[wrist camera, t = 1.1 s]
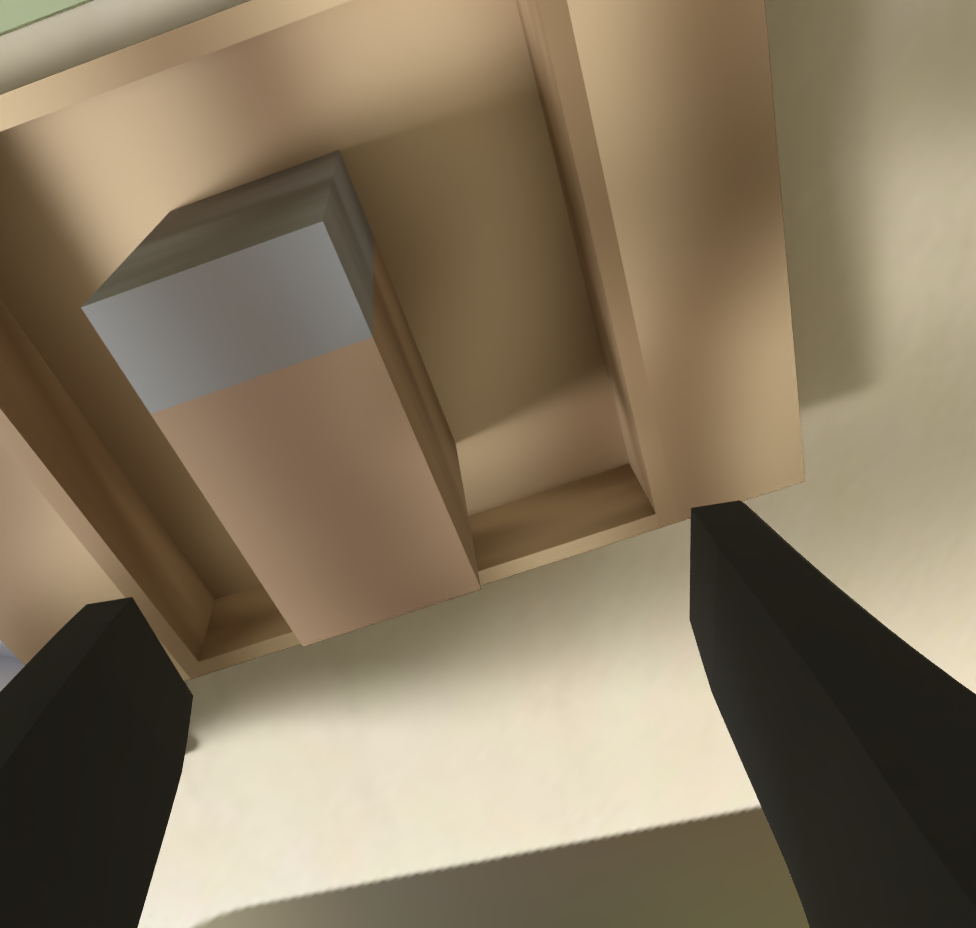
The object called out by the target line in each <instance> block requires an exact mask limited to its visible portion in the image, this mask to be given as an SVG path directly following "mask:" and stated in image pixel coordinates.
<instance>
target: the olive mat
mask: <svg viewBox="0 0 976 928" xmlns="http://www.w3.org/2000/svg"><path fill="white" fill-rule="evenodd" d="M90 1H93V0H0V36H1V35H4V34H7V33H9V32H12V31H14V30H17V29H20V28H22V27H25V26H28V25H30V24H33V23H35V22H38V21H41V20H43V19H46V18H48V17H51V16H54V15H56V14H59V13H62V12H64V11H67V10H69V9H72V8H75V7H77V6H80V5H82V4H85V3H88V2H90Z"/></svg>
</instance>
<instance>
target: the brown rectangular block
mask: <svg viewBox="0 0 976 928" xmlns="http://www.w3.org/2000/svg"><path fill="white" fill-rule="evenodd" d="M81 309H82V310H83V312H84V313H85V315H86V316H87V318H88V319H89V321H90V322H91V324H92V325H93V327H94V328H95V330H96V331H97V333H98V335H99V336H100V338H101V339H102V341H103V342H104V344H105V345H106V347H107V348H108V350H109V351H110V353H111V354H112V356H113V357H114V359H115V361H116V362H117V364H118V365H119V367H120V368H121V370H122V371H123V373H124V374H125V376H126V377H127V379H128V380H129V382H130V383H131V385H132V387H133V388H134V390H135V391H136V393H137V394H138V396H139V397H140V399H141V400H142V402H143V403H144V405H145V406H146V408H147V409H148V411H149V413H150V414H151V416H152V417H153V419H154V420H155V422H156V423H157V425H158V426H159V428H160V429H161V431H162V432H163V434H164V435H165V437H166V438H167V440H168V442H169V443H170V445H171V446H172V448H173V449H174V451H175V452H176V454H177V455H178V457H179V458H180V460H181V461H182V463H183V464H184V466H185V468H186V469H187V471H188V472H189V474H190V475H191V477H192V478H193V480H194V481H195V483H196V484H197V486H198V487H199V489H200V490H201V492H202V494H203V495H204V497H205V498H206V500H207V501H208V503H209V504H210V506H211V507H212V509H213V510H214V512H215V513H216V515H217V516H218V518H219V520H220V521H221V523H222V524H223V526H224V527H225V529H226V530H227V532H228V533H229V535H230V536H231V538H232V539H233V541H234V542H235V544H236V546H237V547H238V549H239V550H240V552H241V553H242V555H243V556H244V558H245V559H246V561H247V562H248V564H249V565H250V567H251V568H252V570H253V572H254V573H255V575H256V576H257V578H258V579H259V581H260V582H261V584H262V585H263V587H264V588H265V590H266V591H267V593H268V594H269V596H270V598H271V599H272V601H273V602H274V604H275V605H276V607H277V608H278V610H279V611H280V613H281V614H282V616H283V617H284V619H285V620H286V622H287V623H288V625H289V627H290V628H291V630H292V631H293V633H294V634H295V636H296V637H297V639H298V640H299V642H300V643H301V645H302V646H303V647H304V646H307V645H310V644H313V643H316V642H319V641H322V640H325V639H328V638H331V637H335V636H338V635H341V634H344V633H347V632H350V631H353V630H356V629H359V628H362V627H366V626H369V625H372V624H375V623H378V622H381V621H384V620H387V619H390V618H393V617H397V616H400V615H403V614H406V613H409V612H412V611H415V610H418V609H421V608H425V607H428V606H431V605H434V604H437V603H440V602H443V601H446V600H449V599H452V598H456V597H459V596H462V595H465V594H468V593H471V592H474V591H477V590H480V589H481V585H480V580H479V574H478V568H477V563H476V557H475V551H474V546H473V540H472V534H471V528H470V523H469V517H468V511H467V506H466V500H465V494H464V488H463V483H462V477H461V471H460V466H459V460H458V454H457V449H456V443H455V441H454V438H453V436H452V433H451V431H450V428H449V426H448V423H447V421H446V418H445V416H444V413H443V410H442V408H441V405H440V403H439V400H438V398H437V395H436V393H435V390H434V388H433V385H432V383H431V380H430V378H429V375H428V373H427V370H426V368H425V365H424V363H423V360H422V358H421V355H420V352H419V350H418V347H417V345H416V342H415V340H414V337H413V335H412V332H411V330H410V327H409V325H408V322H407V320H406V317H405V315H404V312H403V310H402V307H401V305H400V302H399V300H398V297H397V295H396V292H395V289H394V287H393V284H392V282H391V279H390V277H389V274H388V272H387V269H386V267H385V264H384V262H383V259H382V257H381V254H380V252H379V249H378V247H377V244H376V242H375V239H374V237H373V234H372V231H371V229H370V226H369V224H368V221H367V219H366V216H365V214H364V211H363V209H362V206H361V204H360V201H359V199H358V196H357V194H356V191H355V189H354V186H353V184H352V181H351V179H350V176H349V173H348V171H347V168H346V166H345V163H344V161H343V158H342V156H341V153H340V151H339V150H338V151H335V152H332V153H329V154H327V155H324V156H321V157H318V158H316V159H313V160H310V161H307V162H304V163H302V164H299V165H296V166H293V167H291V168H288V169H285V170H282V171H280V172H277V173H274V174H271V175H269V176H266V177H263V178H260V179H258V180H255V181H252V182H249V183H246V184H244V185H241V186H238V187H235V188H233V189H230V190H227V191H224V192H222V193H219V194H216V195H213V196H211V197H208V198H205V199H202V200H200V201H197V202H194V203H191V204H189V205H186V206H183V207H180V208H177V209H175V210H172V211H170V212H169V213H168V214H167V215H166V216H165V217H164V218H163V219H162V220H161V222H160V223H159V224H158V225H157V226H156V227H155V228H154V229H153V230H152V231H151V232H150V233H149V235H148V236H147V237H146V238H145V239H144V240H143V241H142V242H141V243H140V244H139V245H138V246H137V247H136V249H135V250H134V251H133V252H132V253H131V254H130V255H129V256H128V257H127V258H126V259H125V260H124V261H123V263H122V264H121V265H120V266H119V267H118V268H117V269H116V270H115V271H114V272H113V273H112V274H111V275H110V277H109V278H108V279H107V280H106V281H105V282H104V283H103V284H102V285H101V286H100V287H99V288H98V290H97V291H96V292H95V293H94V294H93V295H92V296H91V297H90V298H89V299H88V300H87V301H86V302H85V304H84V305H83V306H82V307H81Z"/></svg>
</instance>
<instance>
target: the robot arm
mask: <svg viewBox="0 0 976 928" xmlns="http://www.w3.org/2000/svg"><path fill="white" fill-rule="evenodd" d="M690 622H691V625H692V629H693V632H694V636H695V639H696V642H697V646H698V649H699V652H700V656H701V659H702V662H703V666H704V669H705V672H706V675H707V678H708V681H709V685H710V688H711V691H712V694H713V696H714V698H715V701H716V703H717V705H718V708H719V710H720V712H721V715H722V717H723V719H724V722H725V724H726V726H727V729H728V731H729V733H730V736H731V738H732V740H733V743H734V745H735V747H736V750H737V752H738V754H739V756H740V759H741V761H742V763H743V766H744V768H745V770H746V772H747V775H748V777H749V779H750V782H751V784H752V786H753V788H754V791H755V793H756V795H757V798H758V800H759V802H760V804H761V807H762V809H763V811H764V813H765V816H766V818H767V820H768V822H769V825H770V827H771V829H772V832H773V834H774V836H775V839H776V841H777V843H778V845H779V848H780V850H781V852H782V855H783V857H784V859H785V861H786V864H787V867H788V869H789V872H790V874H791V877H792V879H793V882H794V884H795V887H796V890H797V892H798V895H799V897H800V900H801V903H802V905H803V908H804V911H805V914H806V917H807V920H808V923H809V926H810V928H976V694H975V693H973V692H972V691H970V690H969V689H968V688H966V687H965V686H963V685H962V684H961V683H959V682H958V681H956V680H955V679H954V678H952V677H951V676H950V675H948V674H947V673H946V672H944V671H943V670H942V669H940V668H939V667H938V666H936V665H935V664H934V663H932V662H931V661H930V660H928V659H927V658H926V657H924V656H923V655H922V654H920V653H919V652H918V651H916V650H915V649H914V648H912V647H911V646H910V645H909V644H907V643H906V642H905V641H904V640H902V639H901V638H900V637H898V636H897V635H896V634H895V633H893V632H892V631H891V630H889V629H888V628H887V627H886V626H884V625H883V624H882V623H881V622H880V621H878V620H877V619H876V618H875V617H874V616H872V615H871V614H870V613H869V612H867V611H866V610H865V609H864V608H863V607H861V606H860V605H859V604H858V603H857V602H855V601H854V600H853V599H852V598H850V597H849V596H848V595H847V594H846V593H844V592H843V591H842V590H841V589H840V588H838V587H837V586H836V585H835V584H834V583H833V582H831V581H830V580H829V579H828V578H827V577H826V576H824V575H823V574H822V573H821V572H820V571H819V570H818V569H816V568H815V567H814V566H813V565H812V564H811V563H810V562H809V561H807V560H806V559H805V558H804V557H803V556H802V555H801V554H800V553H798V552H797V551H796V550H795V549H794V548H793V547H792V546H791V545H790V544H788V543H787V542H786V541H785V540H784V539H783V538H782V537H781V536H780V535H779V534H777V533H776V532H775V531H774V530H773V529H772V528H771V527H770V526H769V525H768V524H767V523H765V522H764V521H763V520H762V519H761V518H760V517H759V516H758V515H757V514H756V513H755V512H754V511H752V510H751V509H750V508H749V507H748V506H747V505H745V504H744V503H743V502H741V501H740V500H737V501H731V502H725V503H719V504H712V505H706V506H700V507H693V508H691V547H690ZM192 700H193V695H192V693H191V692H190V690H189V689H188V687H187V685H186V684H185V682H184V680H183V679H182V677H181V676H180V674H179V672H178V671H177V669H176V667H175V666H174V664H173V662H172V661H171V659H170V658H169V656H168V654H167V653H166V651H165V649H164V648H163V646H162V645H161V643H160V641H159V640H158V638H157V636H156V635H155V633H154V631H153V630H152V628H151V627H150V625H149V623H148V622H147V620H146V618H145V617H144V615H143V614H142V612H141V610H140V609H139V607H138V605H137V604H136V602H135V600H134V599H133V597H129V598H123V599H116V600H110V601H104V602H98V603H91V604H86V605H85V606H84V607H83V608H82V609H81V610H80V611H79V612H78V613H77V614H76V615H75V616H74V617H72V618H71V619H70V620H69V621H68V622H67V623H66V624H65V625H64V626H63V627H62V628H61V629H60V630H59V631H58V632H57V633H56V634H55V635H54V636H53V637H52V638H51V639H50V640H49V641H48V642H47V644H46V645H45V646H44V647H43V648H42V649H41V650H40V651H39V652H38V653H37V654H36V655H35V656H34V657H33V658H32V659H31V660H30V661H29V662H28V663H27V664H26V665H24V664H23V663H22V662H21V661H20V660H19V659H18V658H17V657H16V656H15V655H14V654H13V653H12V652H11V650H10V649H9V648H8V647H7V646H6V645H5V644H4V643H3V642H2V641H1V640H0V928H137V927H138V924H139V920H140V917H141V913H142V910H143V906H144V903H145V900H146V896H147V893H148V889H149V886H150V882H151V879H152V876H153V872H154V869H155V865H156V862H157V858H158V855H159V852H160V848H161V845H162V841H163V838H164V834H165V831H166V827H167V824H168V820H169V817H170V813H171V809H172V806H173V802H174V799H175V795H176V792H177V788H178V784H179V780H180V777H181V773H182V768H183V762H184V756H185V750H186V744H187V738H188V730H189V723H190V715H191V707H192Z"/></svg>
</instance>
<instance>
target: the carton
mask: <svg viewBox="0 0 976 928" xmlns="http://www.w3.org/2000/svg"><path fill="white" fill-rule="evenodd" d="M338 150H339V151H340V153H341V156H342V158H343V161H344V163H345V166H346V168H347V171H348V173H349V176H350V179H351V181H352V184H353V186H354V189H355V191H356V194H357V196H358V199H359V201H360V204H361V206H362V209H363V211H364V214H365V216H366V219H367V221H368V224H369V226H370V229H371V231H372V234H373V237H374V239H375V242H376V244H377V247H378V249H379V252H380V254H381V257H382V259H383V262H384V264H385V267H386V269H387V272H388V274H389V277H390V279H391V282H392V284H393V287H394V289H395V292H396V295H397V297H398V300H399V302H400V305H401V307H402V310H403V312H404V315H405V317H406V320H407V322H408V325H409V327H410V330H411V332H412V335H413V337H414V340H415V342H416V345H417V347H418V350H419V352H420V355H421V358H422V360H423V363H424V365H425V368H426V370H427V373H428V375H429V378H430V380H431V383H432V385H433V388H434V390H435V393H436V395H437V398H438V400H439V403H440V405H441V408H442V410H443V413H444V416H445V418H446V421H447V423H448V426H449V428H450V431H451V433H452V436H453V438H454V441H455V443H456V449H457V454H458V460H459V466H460V471H461V477H462V483H463V488H464V494H465V500H466V506H467V511H468V517H469V523H470V528H471V534H472V540H473V546H474V551H475V557H476V563H477V568H478V574H479V580H480V585H484V584H488V583H491V582H494V581H497V580H500V579H503V578H506V577H509V576H512V575H515V574H519V573H522V572H525V571H528V570H531V569H534V568H537V567H540V566H543V565H546V564H550V563H553V562H556V561H559V560H562V559H565V558H568V557H571V556H574V555H577V554H581V553H584V552H587V551H590V550H593V549H596V548H599V547H602V546H605V545H608V544H612V543H615V542H618V541H621V540H624V539H627V538H630V537H633V536H636V535H639V534H643V533H646V532H649V531H652V530H655V529H658V528H661V527H664V526H667V525H670V524H674V523H677V522H680V521H683V520H686V519H689V518H691V508H693V507H700V506H706V505H712V504H719V503H725V502H731V501H737V500H740V501H741V502H742V501H745V500H748V499H751V498H754V497H757V496H760V495H763V494H767V493H770V492H773V491H776V490H779V489H782V488H785V487H788V486H791V485H794V484H798V483H801V482H804V481H805V472H804V460H803V449H802V437H801V425H800V413H799V401H798V390H797V378H796V366H795V354H794V342H793V330H792V319H791V307H790V295H789V283H788V271H787V259H786V248H785V236H784V224H783V212H782V200H781V188H780V177H779V165H778V153H777V141H776V129H775V117H774V106H773V94H772V82H771V70H770V58H769V46H768V35H767V23H766V11H765V0H251V1H248V2H245V3H243V4H240V5H237V6H235V7H232V8H229V9H227V10H224V11H221V12H219V13H216V14H214V15H211V16H208V17H206V18H203V19H200V20H198V21H195V22H192V23H190V24H187V25H184V26H182V27H179V28H176V29H174V30H171V31H168V32H166V33H163V34H161V35H158V36H155V37H153V38H150V39H147V40H145V41H142V42H139V43H137V44H134V45H131V46H129V47H126V48H123V49H121V50H118V51H115V52H113V53H110V54H108V55H105V56H102V57H100V58H97V59H94V60H92V61H89V62H86V63H84V64H81V65H78V66H76V67H73V68H70V69H68V70H65V71H62V72H60V73H57V74H55V75H52V76H49V77H47V78H44V79H41V80H39V81H36V82H33V83H31V84H28V85H25V86H23V87H20V88H17V89H15V90H12V91H9V92H7V93H4V94H1V95H0V640H1V641H2V642H3V643H4V644H5V645H6V646H7V647H8V648H9V649H10V650H11V652H12V653H13V654H14V655H15V656H16V657H17V658H18V659H19V660H20V661H21V662H22V663H23V664H24V665H26V664H27V663H28V662H29V661H30V660H31V659H32V658H33V657H34V656H35V655H36V654H37V653H38V652H39V651H40V650H41V649H42V648H43V647H44V646H45V645H46V644H47V642H48V641H49V640H50V639H51V638H52V637H53V636H54V635H55V634H56V633H57V632H58V631H59V630H60V629H61V628H62V627H63V626H64V625H65V624H66V623H67V622H68V621H69V620H70V619H71V618H72V617H74V616H75V615H76V614H77V613H78V612H79V611H80V610H81V609H82V608H83V607H84V606H85V605H86V604H91V603H98V602H104V601H110V600H116V599H123V598H129V597H133V599H134V600H135V602H136V604H137V605H138V607H139V609H140V610H141V612H142V614H143V615H144V617H145V618H146V620H147V622H148V623H149V625H150V627H151V628H152V630H153V631H154V633H155V635H156V636H157V638H158V640H159V641H160V643H161V645H162V646H163V648H164V649H165V651H166V653H167V654H168V656H169V658H170V659H171V661H172V662H173V664H174V666H175V667H176V669H177V671H178V672H179V674H180V676H181V677H182V679H183V680H184V681H187V680H190V679H193V678H196V677H199V676H202V675H205V674H209V673H212V672H215V671H218V670H221V669H224V668H227V667H230V666H233V665H236V664H240V663H243V662H246V661H249V660H252V659H255V658H258V657H261V656H264V655H267V654H271V653H274V652H277V651H280V650H283V649H286V648H289V647H292V646H295V645H298V644H301V643H300V642H299V640H298V639H297V637H296V636H295V634H294V633H293V631H292V630H291V628H290V627H289V625H288V623H287V622H286V620H285V619H284V617H283V616H282V614H281V613H280V611H279V610H278V608H277V607H276V605H275V604H274V602H273V601H272V599H271V598H270V596H269V594H268V593H267V591H266V590H265V588H264V587H263V585H262V584H261V582H260V581H259V579H258V578H257V576H256V575H255V573H254V572H253V570H252V568H251V567H250V565H249V564H248V562H247V561H246V559H245V558H244V556H243V555H242V553H241V552H240V550H239V549H238V547H237V546H236V544H235V542H234V541H233V539H232V538H231V536H230V535H229V533H228V532H227V530H226V529H225V527H224V526H223V524H222V523H221V521H220V520H219V518H218V516H217V515H216V513H215V512H214V510H213V509H212V507H211V506H210V504H209V503H208V501H207V500H206V498H205V497H204V495H203V494H202V492H201V490H200V489H199V487H198V486H197V484H196V483H195V481H194V480H193V478H192V477H191V475H190V474H189V472H188V471H187V469H186V468H185V466H184V464H183V463H182V461H181V460H180V458H179V457H178V455H177V454H176V452H175V451H174V449H173V448H172V446H171V445H170V443H169V442H168V440H167V438H166V437H165V435H164V434H163V432H162V431H161V429H160V428H159V426H158V425H157V423H156V422H155V420H154V419H153V417H152V416H151V414H150V413H149V411H148V409H147V408H146V406H145V405H144V403H143V402H142V400H141V399H140V397H139V396H138V394H137V393H136V391H135V390H134V388H133V387H132V385H131V383H130V382H129V380H128V379H127V377H126V376H125V374H124V373H123V371H122V370H121V368H120V367H119V365H118V364H117V362H116V361H115V359H114V357H113V356H112V354H111V353H110V351H109V350H108V348H107V347H106V345H105V344H104V342H103V341H102V339H101V338H100V336H99V335H98V333H97V331H96V330H95V328H94V327H93V325H92V324H91V322H90V321H89V319H88V318H87V316H86V315H85V313H84V312H83V310H82V309H81V307H82V306H83V305H84V304H85V302H86V301H87V300H88V299H89V298H90V297H91V296H92V295H93V294H94V293H95V292H96V291H97V290H98V288H99V287H100V286H101V285H102V284H103V283H104V282H105V281H106V280H107V279H108V278H109V277H110V275H111V274H112V273H113V272H114V271H115V270H116V269H117V268H118V267H119V266H120V265H121V264H122V263H123V261H124V260H125V259H126V258H127V257H128V256H129V255H130V254H131V253H132V252H133V251H134V250H135V249H136V247H137V246H138V245H139V244H140V243H141V242H142V241H143V240H144V239H145V238H146V237H147V236H148V235H149V233H150V232H151V231H152V230H153V229H154V228H155V227H156V226H157V225H158V224H159V223H160V222H161V220H162V219H163V218H164V217H165V216H166V215H167V214H168V213H169V212H170V211H172V210H175V209H177V208H180V207H183V206H186V205H189V204H191V203H194V202H197V201H200V200H202V199H205V198H208V197H211V196H213V195H216V194H219V193H222V192H224V191H227V190H230V189H233V188H235V187H238V186H241V185H244V184H246V183H249V182H252V181H255V180H258V179H260V178H263V177H266V176H269V175H271V174H274V173H277V172H280V171H282V170H285V169H288V168H291V167H293V166H296V165H299V164H302V163H304V162H307V161H310V160H313V159H316V158H318V157H321V156H324V155H327V154H329V153H332V152H335V151H338Z"/></svg>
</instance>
